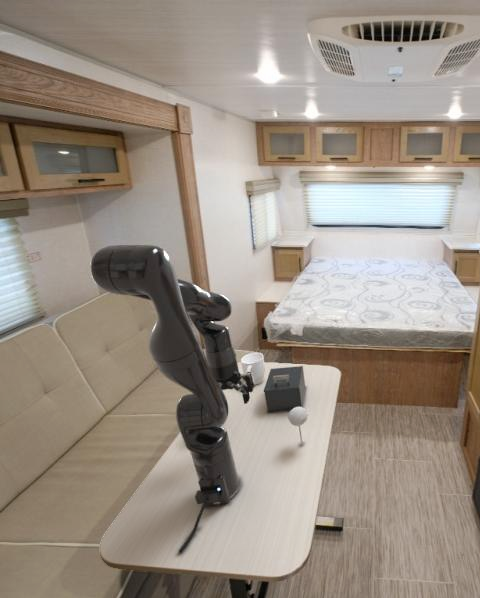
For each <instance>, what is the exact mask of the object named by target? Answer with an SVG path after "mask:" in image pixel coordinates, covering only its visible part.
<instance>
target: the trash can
mask: <svg viewBox="0 0 480 598" xmlns="http://www.w3.org/2000/svg"><path fill="white" fill-rule="evenodd" d="M263 393H264V398H265V404H266V408H267V409H266V410H267V413H279V412H287V411H291V410H292V409H293V408H295V407H303V406H304V400H305V393H306V380H305V373H304V369H303V370H302V376H301V382H300V387H299V389H296V390H285V391H275V392H264V391H263ZM303 408H304V407H303Z"/></svg>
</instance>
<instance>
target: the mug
mask: <svg viewBox="0 0 480 598" xmlns="http://www.w3.org/2000/svg"><path fill="white" fill-rule="evenodd" d="M240 363H241V364H240V365H241V368H242V374H247V372H251V375H252V379H253V383H254V386H256V385H259V384H261V383H262V382H263V380H264V377H265V374H266V365H265V358H264V354H263V353H262V352H258V351H257V352H250V353H247V354H245V355H244V356H242V357H241V358H240Z"/></svg>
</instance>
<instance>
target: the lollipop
mask: <svg viewBox="0 0 480 598" xmlns="http://www.w3.org/2000/svg"><path fill="white" fill-rule="evenodd" d="M308 416H309V412H308V411H307V410H306V409H305V407H295V408H293V409H292V410H289V413H288V415H287V419H288V421H289V423H290V424H291V425H292V426H294V427H298V431H299V438H300V445H301V446H303V444H304V443H303V435H302V429H301V426H302V425H304V424H305V423H306V421H307V419H308Z"/></svg>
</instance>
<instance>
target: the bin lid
mask: <svg viewBox="0 0 480 598" xmlns="http://www.w3.org/2000/svg"><path fill="white" fill-rule="evenodd" d="M302 370H303V371H304V366H303V365H300V366H299V365H298V366H287V367H278V368H277V367H275V368H270V370H269V373H268V376H267V379H266V383H265V385H264V388H263V393H264V392H275V391H285V390H296V389H299V387H300V382H301V376H302Z"/></svg>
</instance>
